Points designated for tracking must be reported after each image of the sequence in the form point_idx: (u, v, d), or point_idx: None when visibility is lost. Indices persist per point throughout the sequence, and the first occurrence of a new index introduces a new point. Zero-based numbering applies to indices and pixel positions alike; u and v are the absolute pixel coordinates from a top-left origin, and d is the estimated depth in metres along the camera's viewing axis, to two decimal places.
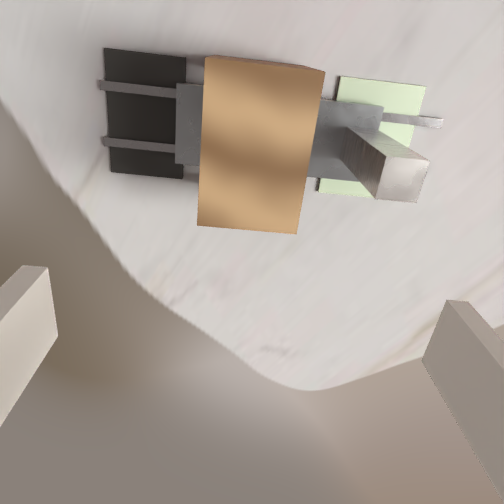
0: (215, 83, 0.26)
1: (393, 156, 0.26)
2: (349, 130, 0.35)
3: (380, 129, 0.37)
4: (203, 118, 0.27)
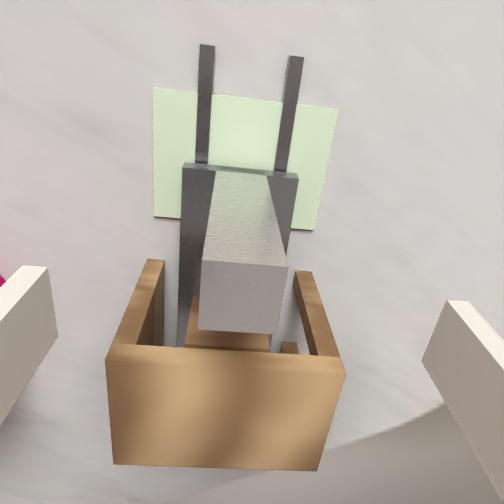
0: (139, 456, 0.22)
1: (199, 313, 0.15)
2: None
3: (221, 150, 0.24)
4: (180, 465, 0.23)
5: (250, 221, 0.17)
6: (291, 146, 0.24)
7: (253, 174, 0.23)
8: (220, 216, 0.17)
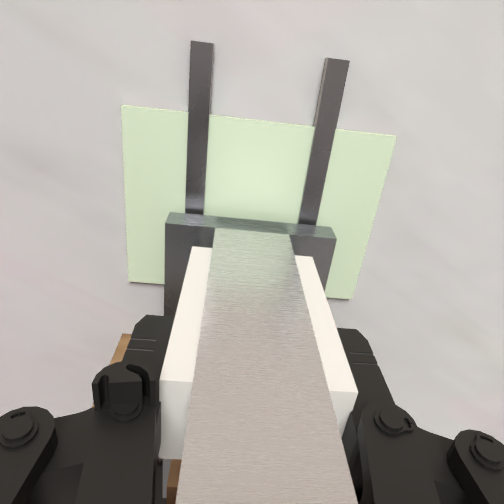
0: None
1: None
2: None
3: (222, 195, 0.17)
4: None
5: (271, 357, 0.09)
6: (324, 189, 0.17)
7: (270, 233, 0.16)
8: (218, 347, 0.09)
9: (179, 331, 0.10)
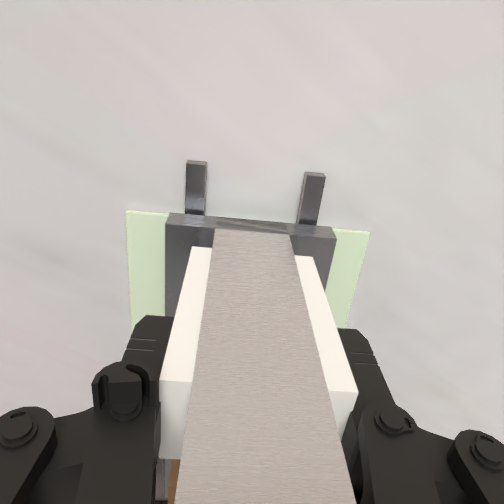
0: None
1: None
2: None
3: None
4: None
5: (270, 358, 0.09)
6: None
7: (270, 233, 0.16)
8: (217, 348, 0.09)
9: (179, 331, 0.10)
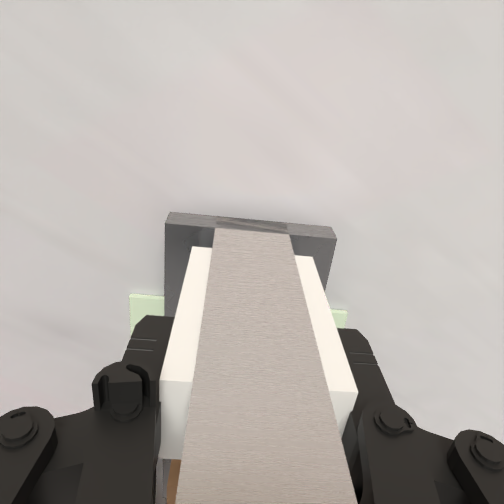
0: None
1: None
2: None
3: None
4: None
5: (271, 357, 0.09)
6: None
7: (270, 233, 0.16)
8: (218, 347, 0.09)
9: (179, 331, 0.10)
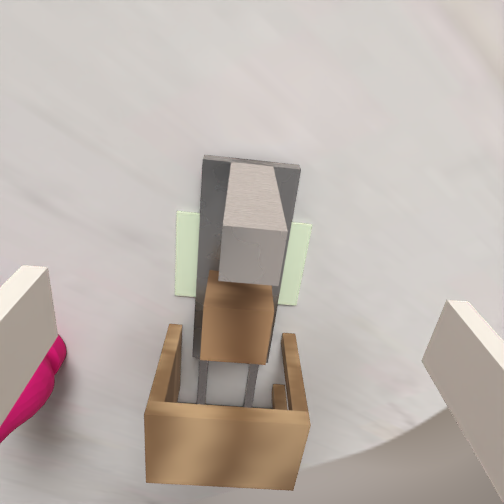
0: (164, 477, 0.31)
1: None
2: None
3: None
4: (193, 484, 0.31)
5: (259, 200, 0.21)
6: None
7: (262, 165, 0.28)
8: (235, 196, 0.21)
9: None
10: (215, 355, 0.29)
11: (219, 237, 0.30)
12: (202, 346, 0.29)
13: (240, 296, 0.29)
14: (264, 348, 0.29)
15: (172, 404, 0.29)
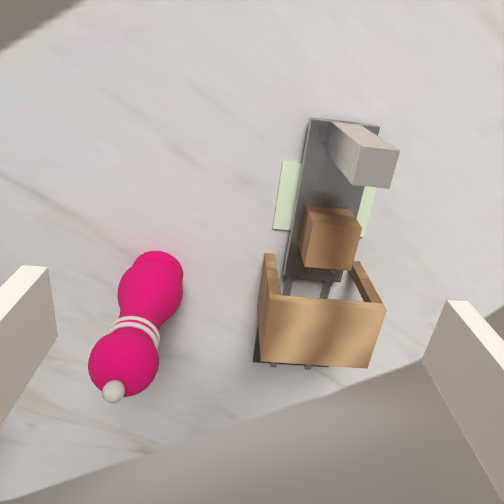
0: (275, 356, 0.42)
1: (353, 177, 0.30)
2: (329, 154, 0.39)
3: None
4: (295, 363, 0.43)
5: (369, 138, 0.33)
6: None
7: (353, 124, 0.39)
8: (354, 136, 0.33)
9: None
10: (316, 263, 0.41)
11: (315, 179, 0.42)
12: (307, 255, 0.40)
13: (334, 219, 0.40)
14: (351, 257, 0.40)
15: (287, 296, 0.40)
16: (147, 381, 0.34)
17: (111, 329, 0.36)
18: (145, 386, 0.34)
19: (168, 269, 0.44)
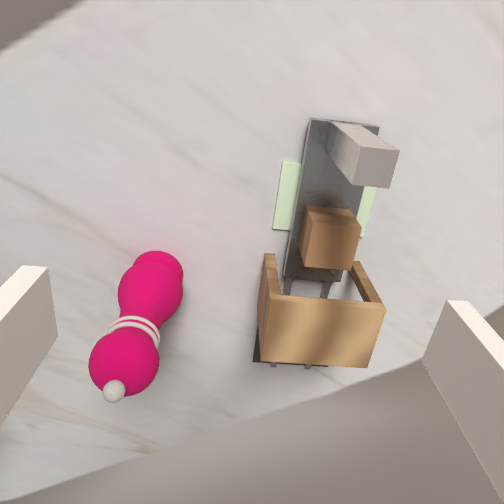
0: (275, 356, 0.42)
1: (353, 177, 0.30)
2: (329, 154, 0.39)
3: None
4: (295, 362, 0.43)
5: (369, 138, 0.33)
6: None
7: (352, 124, 0.39)
8: (353, 136, 0.33)
9: None
10: (316, 262, 0.41)
11: (315, 179, 0.42)
12: (307, 255, 0.40)
13: (334, 219, 0.40)
14: (351, 257, 0.40)
15: (287, 296, 0.40)
16: (147, 381, 0.34)
17: (111, 329, 0.36)
18: (145, 386, 0.34)
19: (168, 269, 0.44)
